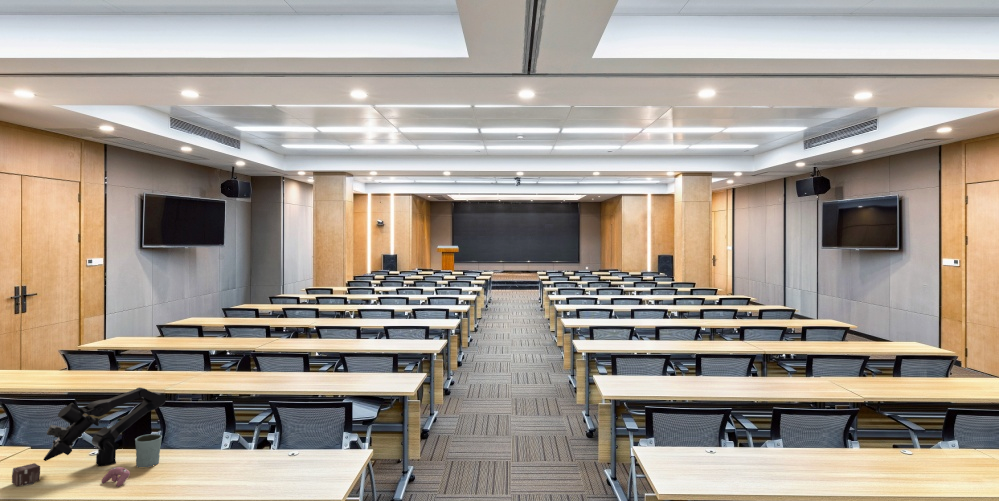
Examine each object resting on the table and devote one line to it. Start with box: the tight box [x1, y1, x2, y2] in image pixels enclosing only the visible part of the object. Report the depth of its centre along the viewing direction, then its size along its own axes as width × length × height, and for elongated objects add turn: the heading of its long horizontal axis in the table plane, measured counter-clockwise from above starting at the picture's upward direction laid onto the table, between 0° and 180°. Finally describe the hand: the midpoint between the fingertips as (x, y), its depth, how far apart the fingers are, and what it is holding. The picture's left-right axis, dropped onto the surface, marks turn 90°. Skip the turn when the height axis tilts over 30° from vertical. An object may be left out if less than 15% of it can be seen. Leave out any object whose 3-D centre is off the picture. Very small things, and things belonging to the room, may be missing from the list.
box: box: [11, 462, 41, 487], centre depth 223 cm, size 6×6×7 cm
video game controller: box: [100, 466, 131, 487], centre depth 226 cm, size 10×5×7 cm, turn 72°
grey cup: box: [134, 433, 163, 468], centre depth 246 cm, size 10×10×12 cm
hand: (44, 460), depth 230 cm, fingers closed
